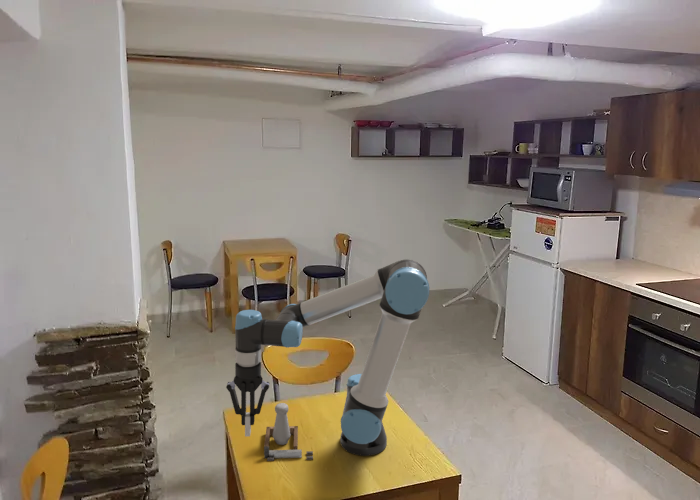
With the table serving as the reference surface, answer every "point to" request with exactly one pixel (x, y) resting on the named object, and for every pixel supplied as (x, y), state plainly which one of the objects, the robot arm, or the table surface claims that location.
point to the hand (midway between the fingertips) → (247, 434)
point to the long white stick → (282, 453)
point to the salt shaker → (281, 425)
